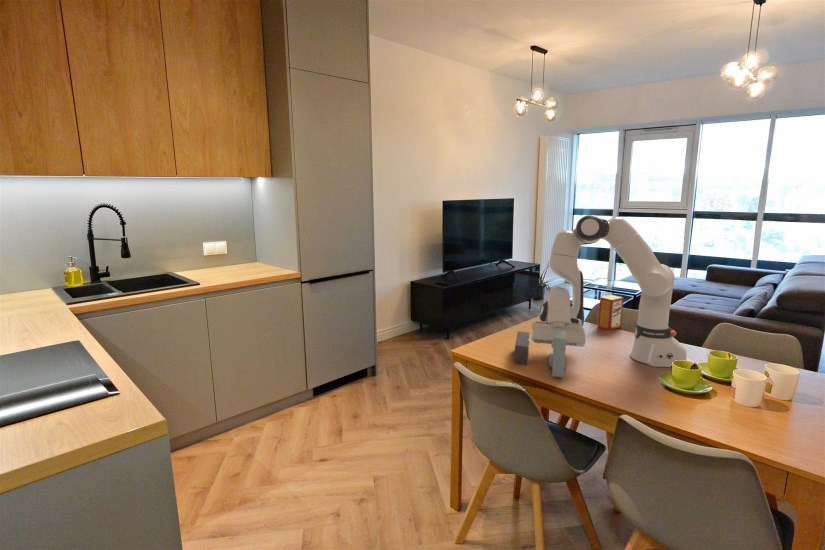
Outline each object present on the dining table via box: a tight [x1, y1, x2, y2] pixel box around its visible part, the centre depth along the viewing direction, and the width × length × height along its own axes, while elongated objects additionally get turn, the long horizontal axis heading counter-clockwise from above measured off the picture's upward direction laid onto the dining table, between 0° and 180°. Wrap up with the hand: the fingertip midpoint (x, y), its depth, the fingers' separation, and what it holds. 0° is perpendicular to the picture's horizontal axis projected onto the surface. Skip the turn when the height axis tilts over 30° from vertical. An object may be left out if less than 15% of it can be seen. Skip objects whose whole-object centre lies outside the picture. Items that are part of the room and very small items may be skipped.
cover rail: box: [548, 353, 566, 371], centre depth 180 cm, size 6×14×1 cm, turn 164°
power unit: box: [514, 331, 531, 366], centre depth 186 cm, size 5×18×8 cm, turn 164°
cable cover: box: [551, 330, 567, 378], centre depth 167 cm, size 4×10×15 cm, turn 164°
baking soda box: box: [597, 294, 624, 331], centre depth 222 cm, size 10×6×16 cm
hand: (558, 353), depth 172 cm, fingers closed, pressing on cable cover
